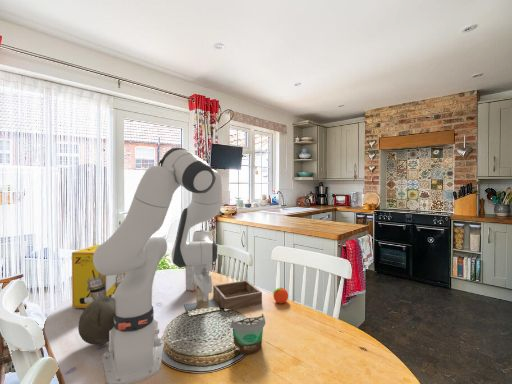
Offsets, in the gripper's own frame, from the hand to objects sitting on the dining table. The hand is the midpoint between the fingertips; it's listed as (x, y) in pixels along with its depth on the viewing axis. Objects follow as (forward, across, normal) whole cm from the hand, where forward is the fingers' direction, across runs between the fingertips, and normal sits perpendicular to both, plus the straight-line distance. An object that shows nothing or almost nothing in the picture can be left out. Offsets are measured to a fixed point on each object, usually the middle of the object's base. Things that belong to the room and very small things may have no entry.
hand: (202, 296), depth 119 cm
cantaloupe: (-10, -10, +35) cm, 37 cm away
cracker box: (+5, +27, -4) cm, 28 cm away
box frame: (+5, +1, -17) cm, 18 cm away
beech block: (+5, 0, 0) cm, 5 cm away
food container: (+5, -38, -7) cm, 39 cm away
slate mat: (+5, 0, 0) cm, 5 cm away
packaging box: (+5, +29, +42) cm, 51 cm away
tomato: (+5, -10, -34) cm, 36 cm away
